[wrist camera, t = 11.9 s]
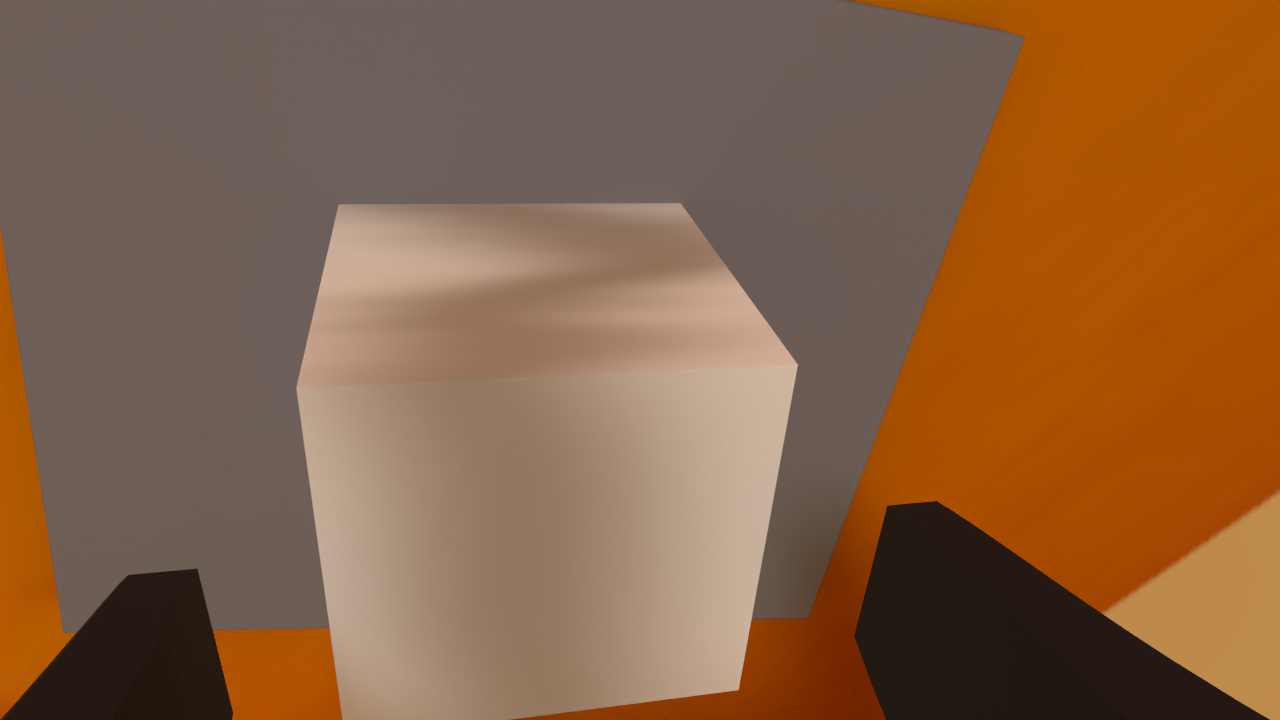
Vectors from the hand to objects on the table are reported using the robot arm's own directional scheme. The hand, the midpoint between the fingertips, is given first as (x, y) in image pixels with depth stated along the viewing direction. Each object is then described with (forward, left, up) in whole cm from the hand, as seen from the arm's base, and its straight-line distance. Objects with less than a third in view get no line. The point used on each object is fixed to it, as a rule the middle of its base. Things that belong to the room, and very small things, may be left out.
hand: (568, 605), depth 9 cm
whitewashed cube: (0, 0, -6) cm, 6 cm away
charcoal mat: (0, 0, -6) cm, 6 cm away
